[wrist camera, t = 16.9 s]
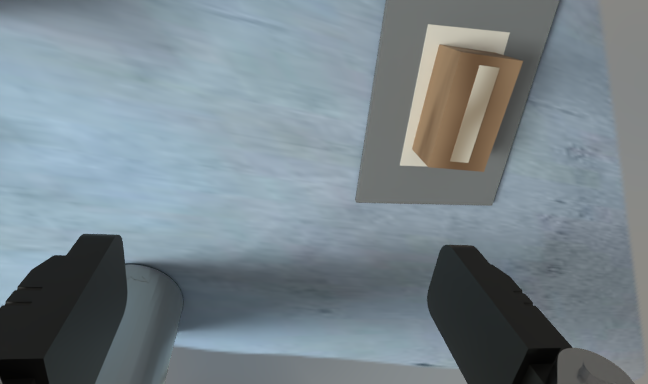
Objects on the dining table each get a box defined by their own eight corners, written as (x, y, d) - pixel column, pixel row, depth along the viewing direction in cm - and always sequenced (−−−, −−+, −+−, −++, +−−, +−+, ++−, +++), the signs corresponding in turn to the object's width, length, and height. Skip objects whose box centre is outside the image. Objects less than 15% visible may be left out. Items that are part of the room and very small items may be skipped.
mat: (488, 202, 41) (492, 205, 40) (355, 199, 39) (356, 203, 38) (560, -18, 32) (566, -19, 31) (392, -40, 30) (394, -41, 29)
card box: (495, 52, 33) (523, 61, 30) (462, 154, 37) (484, 172, 34) (439, 44, 32) (461, 52, 29) (411, 149, 36) (428, 167, 33)
